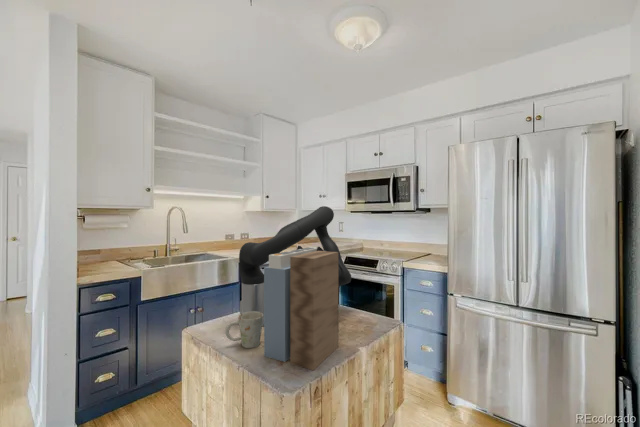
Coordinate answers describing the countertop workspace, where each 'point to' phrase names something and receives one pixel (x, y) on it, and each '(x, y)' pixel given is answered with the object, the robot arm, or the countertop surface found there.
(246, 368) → the countertop surface
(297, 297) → the walnut stand
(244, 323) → the mug
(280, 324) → the blue stand
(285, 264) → the light grey square-ended block
